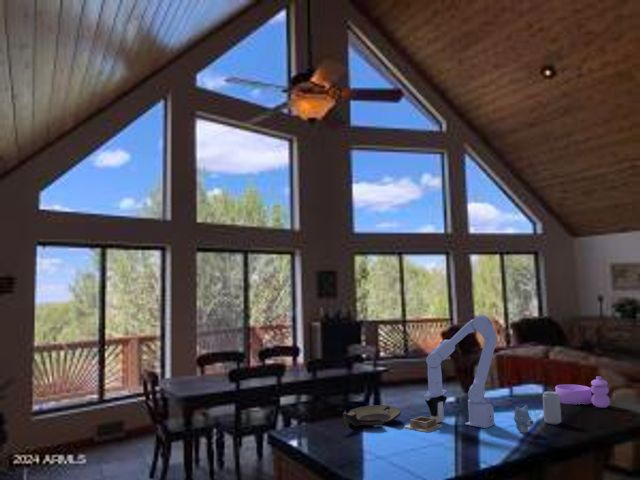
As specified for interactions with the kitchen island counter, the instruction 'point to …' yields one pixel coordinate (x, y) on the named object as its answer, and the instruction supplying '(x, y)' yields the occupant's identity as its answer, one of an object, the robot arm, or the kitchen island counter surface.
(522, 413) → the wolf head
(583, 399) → the container set
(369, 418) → the olive shallow bowl
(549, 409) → the beverage can
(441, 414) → the peg
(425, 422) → the collar
